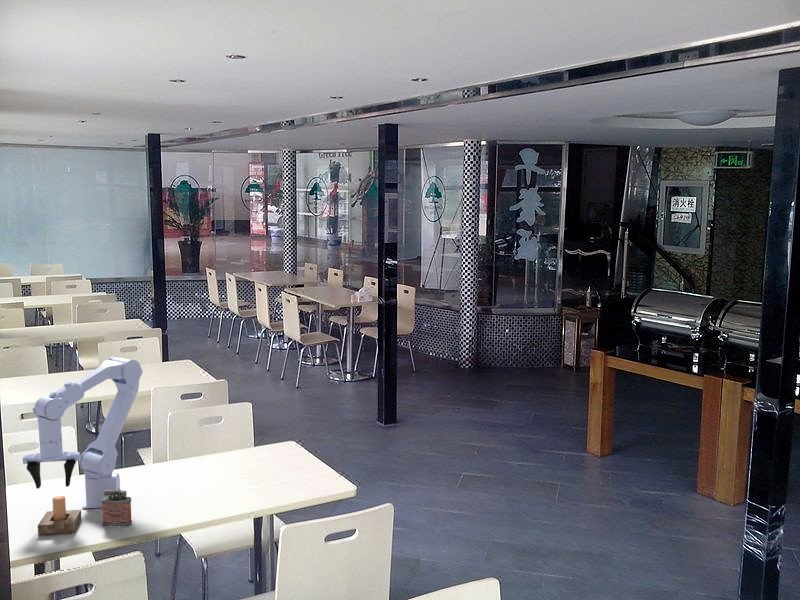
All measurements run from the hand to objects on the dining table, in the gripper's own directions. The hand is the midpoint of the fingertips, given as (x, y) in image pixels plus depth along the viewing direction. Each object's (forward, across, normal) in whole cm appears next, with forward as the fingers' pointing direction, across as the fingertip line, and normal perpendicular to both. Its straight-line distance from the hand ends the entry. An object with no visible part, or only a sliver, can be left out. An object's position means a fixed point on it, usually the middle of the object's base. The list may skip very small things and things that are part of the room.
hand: (53, 486), depth 213 cm
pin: (+9, +3, -6) cm, 11 cm away
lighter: (+10, +18, -6) cm, 21 cm away
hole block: (+10, +3, -6) cm, 12 cm away
